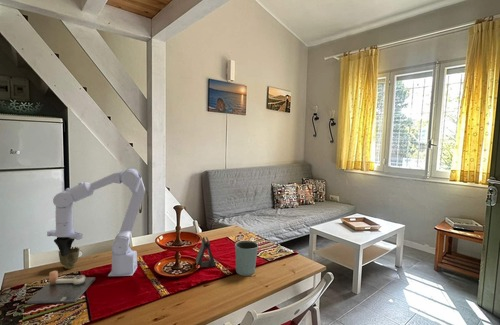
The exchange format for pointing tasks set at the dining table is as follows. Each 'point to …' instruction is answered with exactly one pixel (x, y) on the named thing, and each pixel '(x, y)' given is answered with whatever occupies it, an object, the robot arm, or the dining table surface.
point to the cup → (69, 258)
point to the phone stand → (200, 255)
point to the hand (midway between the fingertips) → (64, 255)
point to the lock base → (60, 292)
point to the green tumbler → (246, 257)
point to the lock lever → (54, 279)
